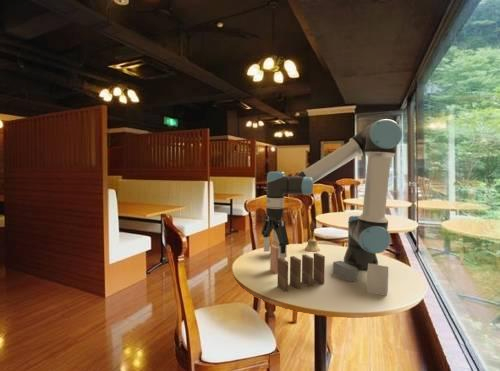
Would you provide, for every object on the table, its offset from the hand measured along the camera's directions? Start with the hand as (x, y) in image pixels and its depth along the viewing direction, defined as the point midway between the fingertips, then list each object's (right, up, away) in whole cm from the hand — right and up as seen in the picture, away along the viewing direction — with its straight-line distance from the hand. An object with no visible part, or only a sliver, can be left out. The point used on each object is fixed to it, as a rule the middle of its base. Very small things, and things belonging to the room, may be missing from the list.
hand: (273, 255), depth 125 cm
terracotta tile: (0, -7, 0) cm, 7 cm away
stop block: (+29, -7, -5) cm, 31 cm away
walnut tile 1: (+2, -8, -17) cm, 19 cm away
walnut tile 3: (+12, -8, -13) cm, 19 cm away
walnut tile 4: (+17, -8, -11) cm, 22 cm away
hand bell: (+24, -5, +34) cm, 42 cm away
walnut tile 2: (+7, -8, -15) cm, 18 cm away
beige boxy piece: (+36, -9, -20) cm, 42 cm away
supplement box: (+5, -6, +24) cm, 25 cm away
